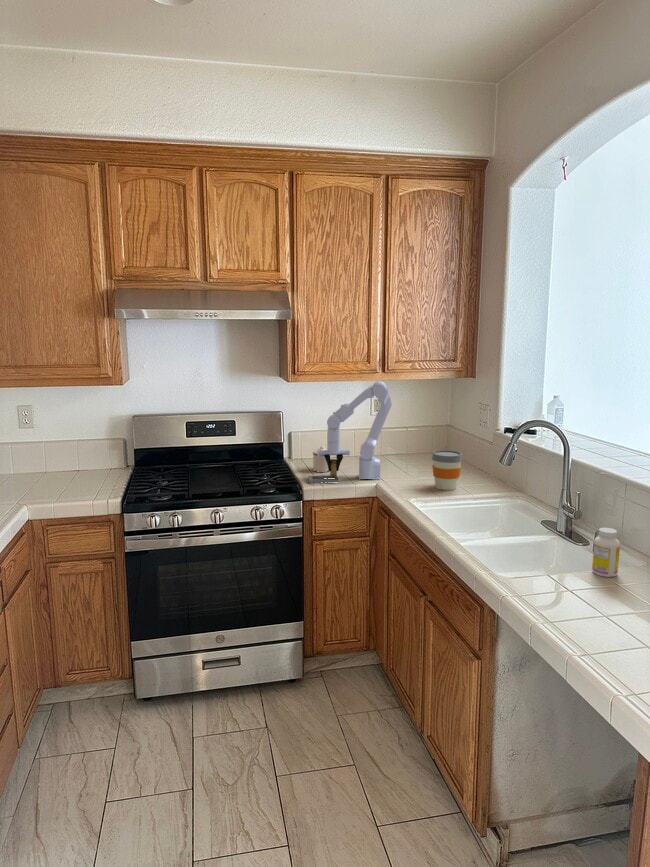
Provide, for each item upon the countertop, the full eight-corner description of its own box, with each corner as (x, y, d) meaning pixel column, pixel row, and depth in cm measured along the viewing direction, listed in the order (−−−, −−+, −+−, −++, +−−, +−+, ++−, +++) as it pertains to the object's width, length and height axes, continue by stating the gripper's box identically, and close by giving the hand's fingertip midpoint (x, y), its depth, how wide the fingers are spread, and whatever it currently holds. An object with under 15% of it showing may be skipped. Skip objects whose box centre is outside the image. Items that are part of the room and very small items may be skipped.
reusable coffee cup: (439, 492, 256) (440, 457, 253) (426, 484, 267) (427, 450, 265) (466, 490, 259) (467, 455, 256) (452, 482, 271) (453, 449, 268)
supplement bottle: (610, 568, 178) (614, 526, 175) (621, 577, 171) (626, 534, 169) (587, 568, 177) (591, 526, 175) (598, 578, 171) (602, 534, 169)
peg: (336, 476, 281) (336, 459, 280) (337, 477, 278) (337, 460, 277) (329, 476, 281) (329, 459, 279) (330, 477, 278) (330, 460, 276)
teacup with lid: (334, 472, 289) (334, 447, 286) (316, 473, 286) (316, 449, 284) (326, 466, 300) (326, 443, 298) (308, 467, 297) (308, 444, 295)
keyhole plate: (336, 478, 277) (336, 475, 276) (338, 483, 269) (338, 479, 269) (307, 479, 275) (307, 475, 275) (309, 483, 267) (309, 480, 267)
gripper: (348, 439, 281) (347, 468, 284) (316, 440, 280) (316, 469, 282) (350, 442, 274) (350, 472, 277) (318, 443, 273) (318, 472, 275)
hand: (333, 470), depth 279 cm, fingers closed on peg, 3 cm apart
